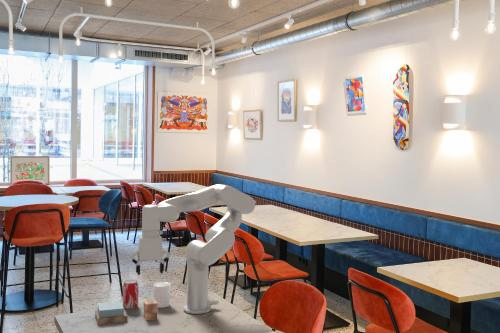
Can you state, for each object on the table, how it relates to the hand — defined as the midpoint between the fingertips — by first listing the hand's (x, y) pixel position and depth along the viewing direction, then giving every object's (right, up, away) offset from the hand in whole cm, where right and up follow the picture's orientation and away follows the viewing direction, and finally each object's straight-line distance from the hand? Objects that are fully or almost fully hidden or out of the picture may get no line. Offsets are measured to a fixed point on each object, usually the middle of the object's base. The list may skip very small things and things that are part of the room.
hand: (149, 273), depth 223 cm
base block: (-17, -20, 0) cm, 26 cm away
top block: (-17, -17, 0) cm, 24 cm away
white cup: (+2, -19, +18) cm, 26 cm away
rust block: (0, -20, +1) cm, 20 cm away
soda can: (-12, -19, +15) cm, 27 cm away
